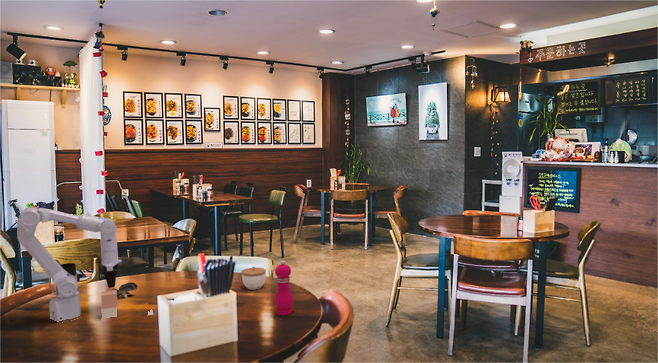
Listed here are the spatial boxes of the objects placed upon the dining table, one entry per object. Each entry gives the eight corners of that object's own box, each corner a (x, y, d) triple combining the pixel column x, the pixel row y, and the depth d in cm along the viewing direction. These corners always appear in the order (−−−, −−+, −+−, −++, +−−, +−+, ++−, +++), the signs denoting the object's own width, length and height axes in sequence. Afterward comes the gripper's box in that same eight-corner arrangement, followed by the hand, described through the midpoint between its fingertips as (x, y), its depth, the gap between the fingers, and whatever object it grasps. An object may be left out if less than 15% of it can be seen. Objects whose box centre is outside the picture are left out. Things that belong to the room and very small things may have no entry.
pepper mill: (290, 316, 169) (289, 263, 167) (271, 315, 170) (270, 262, 169) (295, 309, 176) (294, 258, 174) (277, 308, 177) (276, 257, 176)
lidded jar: (239, 286, 207) (238, 265, 207) (262, 282, 212) (261, 262, 211) (245, 292, 198) (244, 271, 197) (269, 289, 202) (268, 268, 202)
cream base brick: (101, 319, 167) (101, 308, 167) (102, 315, 172) (101, 304, 171) (116, 317, 169) (116, 306, 169) (117, 313, 174) (116, 302, 174)
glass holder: (83, 297, 195) (81, 262, 194) (61, 309, 181) (59, 271, 180) (64, 297, 196) (62, 262, 195) (40, 308, 182) (38, 271, 181)
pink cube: (101, 308, 167) (101, 295, 167) (102, 304, 171) (101, 291, 171) (116, 306, 169) (116, 293, 169) (117, 302, 174) (116, 289, 173)
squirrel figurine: (123, 300, 187) (141, 290, 195) (114, 285, 188) (132, 276, 195) (115, 307, 191) (133, 296, 199) (106, 292, 192) (124, 283, 199)
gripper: (120, 252, 171) (123, 288, 172) (120, 245, 184) (123, 278, 185) (99, 255, 168) (102, 291, 169) (101, 247, 181) (103, 281, 182)
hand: (111, 284), depth 177 cm, fingers open, 7 cm apart
